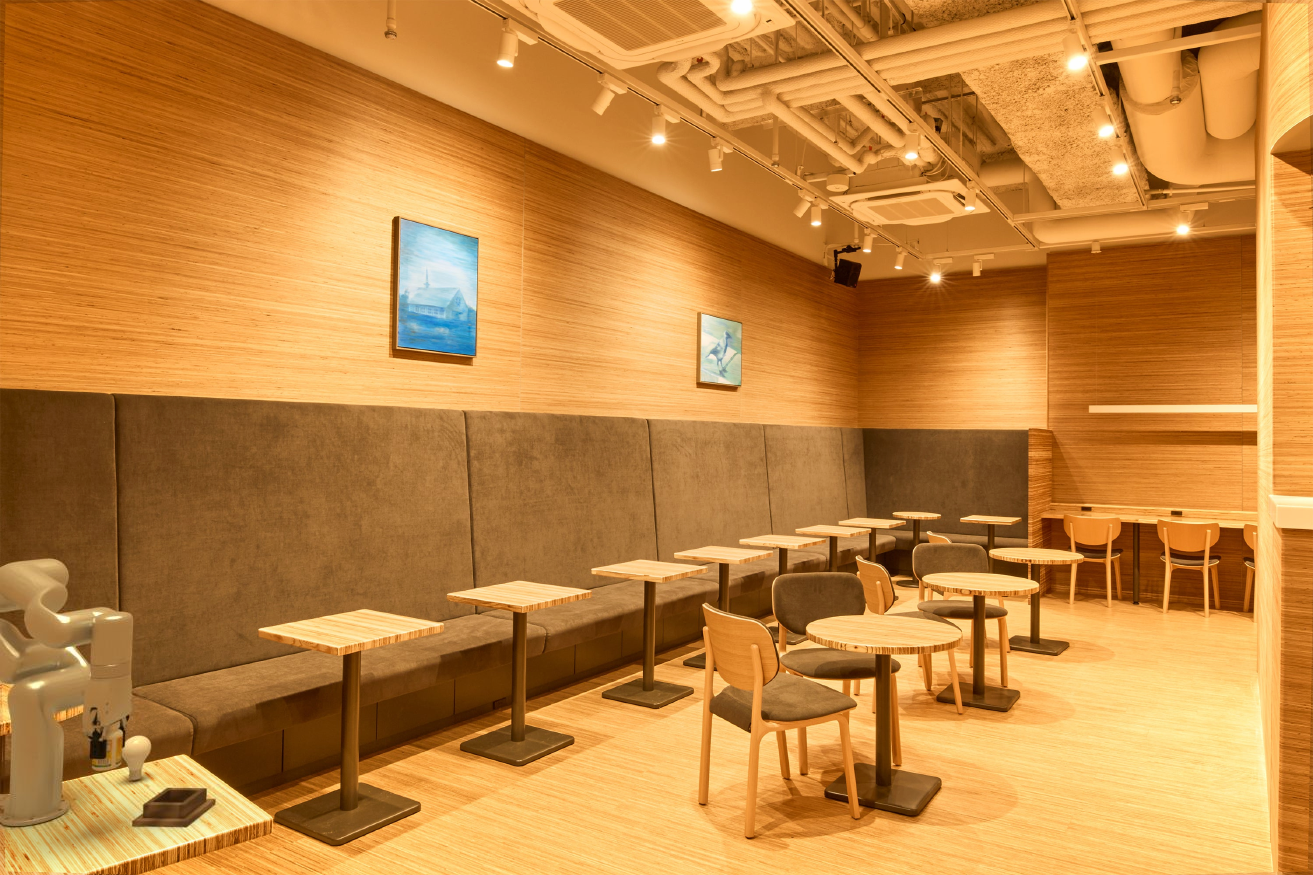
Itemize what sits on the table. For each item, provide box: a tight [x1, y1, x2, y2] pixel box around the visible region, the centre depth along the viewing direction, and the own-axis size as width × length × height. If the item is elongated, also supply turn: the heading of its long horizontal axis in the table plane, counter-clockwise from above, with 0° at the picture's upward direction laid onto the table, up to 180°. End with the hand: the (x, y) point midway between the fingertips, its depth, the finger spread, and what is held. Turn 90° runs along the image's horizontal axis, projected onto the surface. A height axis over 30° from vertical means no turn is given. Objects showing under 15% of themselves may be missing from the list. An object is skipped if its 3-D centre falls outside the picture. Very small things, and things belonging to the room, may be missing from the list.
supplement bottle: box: [91, 720, 123, 772], centre depth 176 cm, size 5×5×10 cm
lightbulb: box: [122, 735, 152, 782], centre depth 204 cm, size 6×6×11 cm
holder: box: [131, 787, 217, 828], centre depth 185 cm, size 12×12×4 cm
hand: (107, 752), depth 176 cm, fingers closed on supplement bottle, 5 cm apart
